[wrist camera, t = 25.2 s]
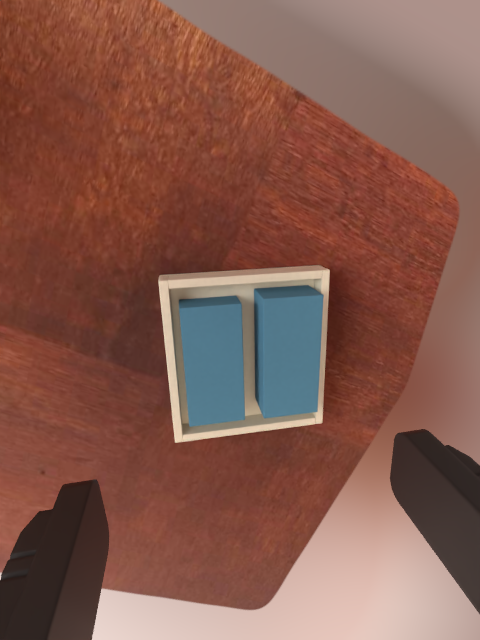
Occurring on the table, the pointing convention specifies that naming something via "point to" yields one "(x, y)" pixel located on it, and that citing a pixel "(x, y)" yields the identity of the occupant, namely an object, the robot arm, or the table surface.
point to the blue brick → (213, 359)
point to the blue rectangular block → (287, 349)
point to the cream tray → (243, 288)
